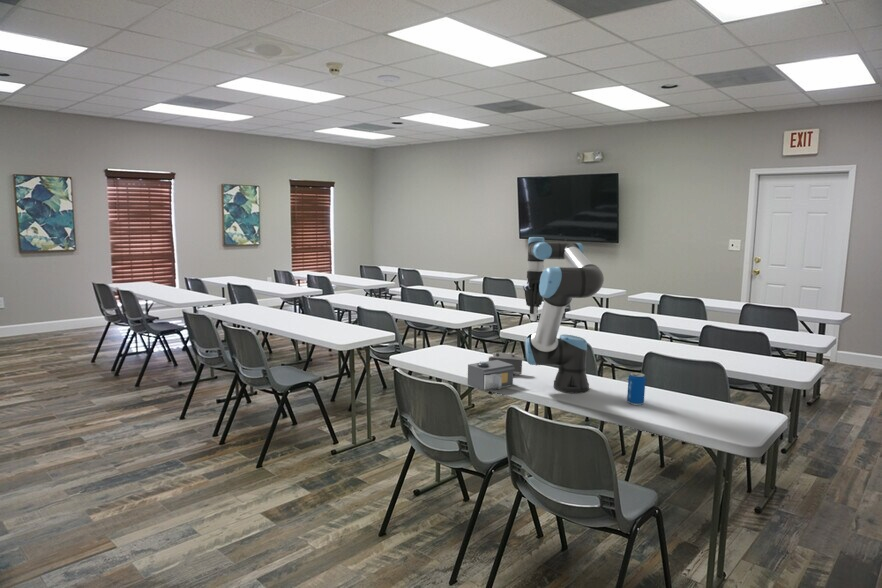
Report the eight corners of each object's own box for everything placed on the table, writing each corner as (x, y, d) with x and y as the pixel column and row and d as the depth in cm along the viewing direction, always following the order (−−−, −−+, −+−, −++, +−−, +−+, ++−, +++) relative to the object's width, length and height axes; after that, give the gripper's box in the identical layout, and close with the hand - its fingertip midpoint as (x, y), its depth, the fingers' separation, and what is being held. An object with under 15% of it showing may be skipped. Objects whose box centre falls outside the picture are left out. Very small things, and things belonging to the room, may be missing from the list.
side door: (501, 388, 243) (501, 374, 242) (488, 391, 239) (489, 376, 238) (496, 386, 246) (496, 372, 245) (483, 389, 242) (484, 374, 241)
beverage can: (623, 401, 230) (625, 372, 229) (636, 400, 233) (638, 371, 231) (634, 406, 224) (636, 377, 223) (647, 404, 227) (649, 375, 225)
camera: (521, 374, 265) (523, 352, 268) (487, 371, 266) (489, 349, 269) (520, 377, 274) (521, 356, 277) (487, 374, 275) (488, 353, 278)
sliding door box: (514, 385, 251) (515, 361, 250) (484, 391, 241) (485, 366, 240) (496, 378, 261) (497, 356, 259) (467, 384, 251) (468, 360, 250)
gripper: (539, 269, 268) (537, 318, 271) (519, 270, 261) (517, 320, 264) (551, 270, 262) (549, 320, 265) (530, 271, 255) (528, 323, 258)
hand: (533, 320), depth 264 cm, fingers closed
